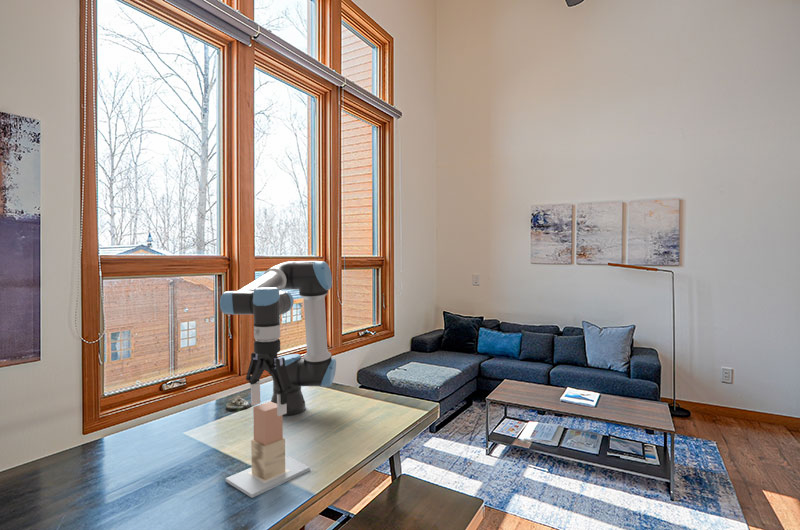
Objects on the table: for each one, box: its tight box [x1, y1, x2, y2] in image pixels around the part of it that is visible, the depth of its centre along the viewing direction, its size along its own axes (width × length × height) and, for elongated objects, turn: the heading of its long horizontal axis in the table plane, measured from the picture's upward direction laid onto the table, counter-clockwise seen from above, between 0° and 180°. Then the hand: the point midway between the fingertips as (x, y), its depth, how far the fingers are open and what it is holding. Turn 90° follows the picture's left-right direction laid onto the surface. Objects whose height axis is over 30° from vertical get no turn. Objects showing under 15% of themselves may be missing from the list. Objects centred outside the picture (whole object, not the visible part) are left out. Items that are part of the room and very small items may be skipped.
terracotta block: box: [252, 401, 284, 445], centre depth 132 cm, size 6×6×10 cm
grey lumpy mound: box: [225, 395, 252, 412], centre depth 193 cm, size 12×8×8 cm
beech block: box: [250, 437, 286, 480], centre depth 132 cm, size 7×7×10 cm
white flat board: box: [225, 454, 311, 499], centre depth 132 cm, size 14×20×1 cm
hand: (268, 409), depth 132 cm, fingers open, 13 cm apart
